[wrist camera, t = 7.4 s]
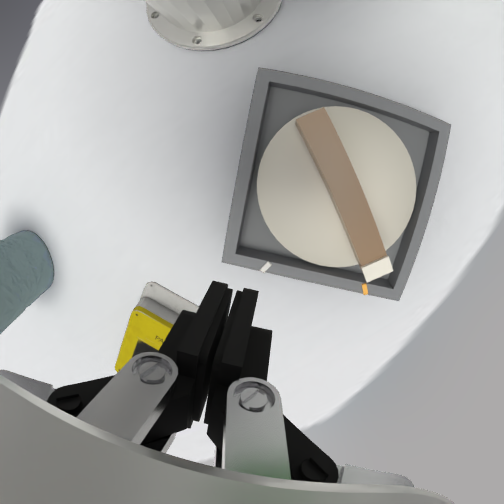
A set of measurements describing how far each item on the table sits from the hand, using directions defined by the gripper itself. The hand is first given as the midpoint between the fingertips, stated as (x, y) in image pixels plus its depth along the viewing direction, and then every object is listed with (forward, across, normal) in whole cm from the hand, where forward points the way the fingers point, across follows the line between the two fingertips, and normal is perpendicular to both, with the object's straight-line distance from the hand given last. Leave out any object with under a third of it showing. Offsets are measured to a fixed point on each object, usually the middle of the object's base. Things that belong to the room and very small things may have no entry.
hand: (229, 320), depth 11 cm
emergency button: (+17, +8, +18) cm, 26 cm away
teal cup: (+17, +29, +12) cm, 36 cm away
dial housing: (+17, -5, -4) cm, 18 cm away
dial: (+16, -5, -4) cm, 17 cm away
